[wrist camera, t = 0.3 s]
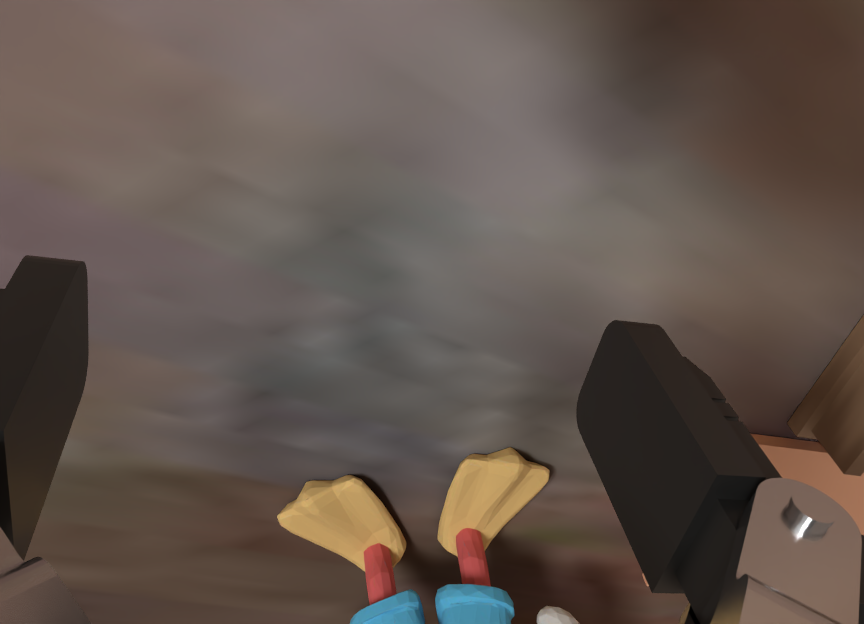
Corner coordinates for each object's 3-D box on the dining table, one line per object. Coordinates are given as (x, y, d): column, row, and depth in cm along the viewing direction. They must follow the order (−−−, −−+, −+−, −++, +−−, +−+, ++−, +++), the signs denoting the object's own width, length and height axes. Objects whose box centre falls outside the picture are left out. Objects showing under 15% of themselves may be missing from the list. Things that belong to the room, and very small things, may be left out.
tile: (737, 431, 41) (744, 442, 40) (916, 454, 44) (926, 464, 44) (642, 574, 47) (646, 585, 47) (804, 585, 51) (811, 596, 50)
